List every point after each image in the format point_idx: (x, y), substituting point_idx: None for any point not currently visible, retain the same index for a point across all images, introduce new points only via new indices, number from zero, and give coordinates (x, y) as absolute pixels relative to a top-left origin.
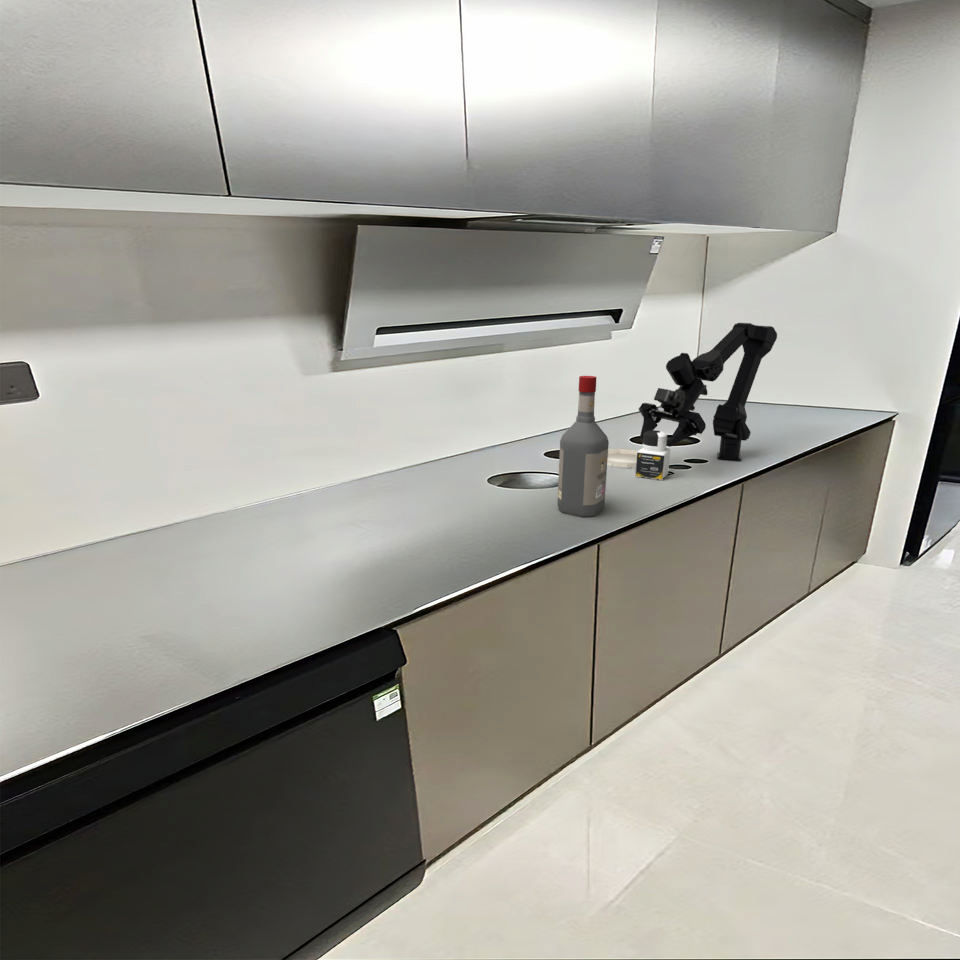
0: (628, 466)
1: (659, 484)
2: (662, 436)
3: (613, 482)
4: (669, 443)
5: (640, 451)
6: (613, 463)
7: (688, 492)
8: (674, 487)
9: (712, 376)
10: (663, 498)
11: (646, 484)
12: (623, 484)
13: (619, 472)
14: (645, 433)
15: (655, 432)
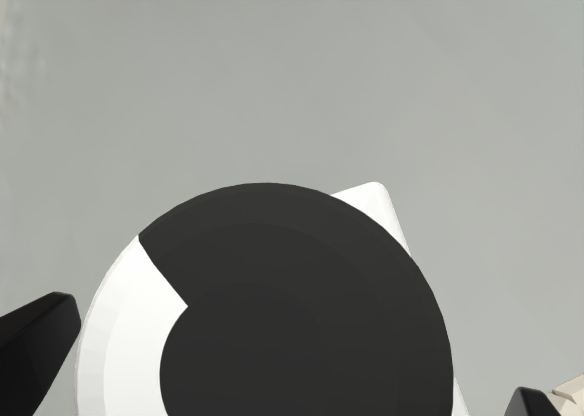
0: (554, 395)
1: None
2: (96, 294)
3: (395, 46)
4: (38, 304)
5: (352, 190)
6: None
7: (6, 191)
8: (96, 216)
9: None
10: (68, 22)
11: (239, 150)
12: (332, 57)
13: (516, 250)
14: (355, 222)
15: (214, 309)
